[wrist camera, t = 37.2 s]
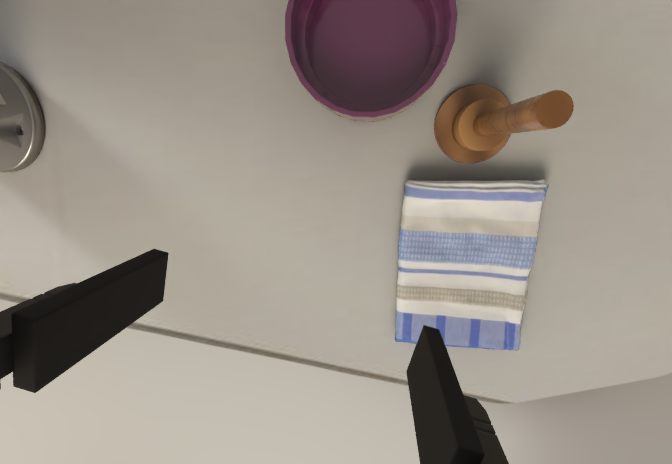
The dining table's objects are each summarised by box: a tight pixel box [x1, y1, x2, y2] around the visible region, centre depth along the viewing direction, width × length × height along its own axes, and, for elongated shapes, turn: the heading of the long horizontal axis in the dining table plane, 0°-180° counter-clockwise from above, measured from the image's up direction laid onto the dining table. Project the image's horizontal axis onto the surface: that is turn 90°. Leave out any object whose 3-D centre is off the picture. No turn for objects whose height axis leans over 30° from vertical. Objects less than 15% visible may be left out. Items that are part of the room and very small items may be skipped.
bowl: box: [285, 0, 457, 122], centre depth 35 cm, size 17×17×6 cm
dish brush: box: [452, 90, 573, 151], centre depth 30 cm, size 5×5×18 cm
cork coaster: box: [434, 85, 510, 163], centre depth 39 cm, size 9×9×1 cm
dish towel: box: [395, 179, 549, 350], centre depth 42 cm, size 17×24×3 cm
